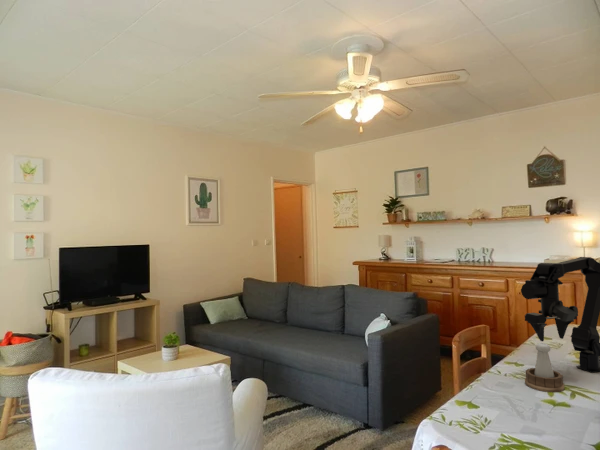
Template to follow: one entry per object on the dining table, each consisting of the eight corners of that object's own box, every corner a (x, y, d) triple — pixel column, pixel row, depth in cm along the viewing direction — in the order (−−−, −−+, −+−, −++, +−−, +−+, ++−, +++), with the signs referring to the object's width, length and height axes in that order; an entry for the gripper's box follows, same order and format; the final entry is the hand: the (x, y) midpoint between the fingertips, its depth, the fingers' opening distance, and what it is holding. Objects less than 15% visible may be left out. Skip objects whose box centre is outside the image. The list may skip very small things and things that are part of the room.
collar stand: (542, 377, 144) (542, 365, 144) (573, 389, 132) (572, 376, 133) (517, 381, 140) (516, 370, 140) (545, 394, 129) (545, 381, 129)
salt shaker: (558, 384, 134) (556, 345, 134) (543, 385, 133) (541, 346, 134) (545, 378, 140) (543, 341, 140) (531, 379, 139) (529, 342, 139)
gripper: (549, 302, 136) (551, 348, 135) (590, 298, 141) (592, 342, 140) (522, 298, 146) (524, 340, 146) (561, 294, 152) (563, 335, 151)
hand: (551, 339), depth 146 cm, fingers open, 9 cm apart
